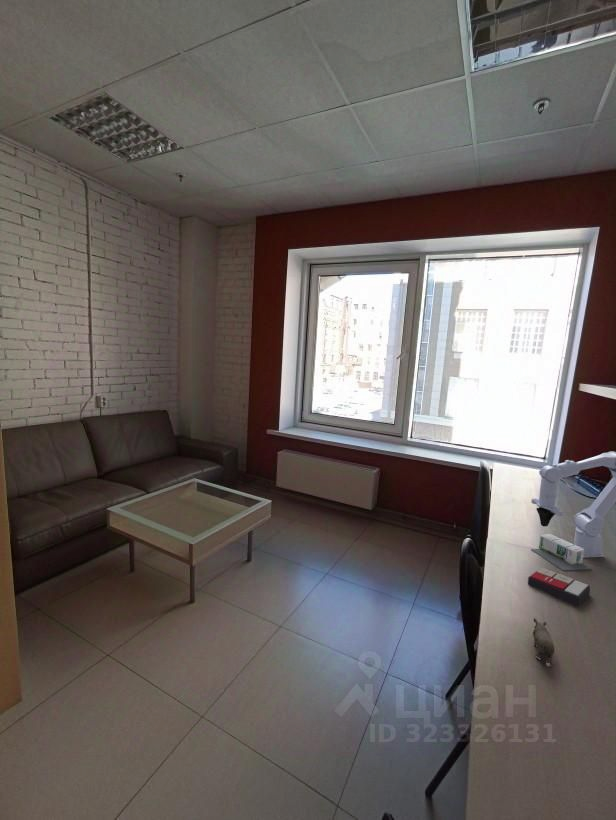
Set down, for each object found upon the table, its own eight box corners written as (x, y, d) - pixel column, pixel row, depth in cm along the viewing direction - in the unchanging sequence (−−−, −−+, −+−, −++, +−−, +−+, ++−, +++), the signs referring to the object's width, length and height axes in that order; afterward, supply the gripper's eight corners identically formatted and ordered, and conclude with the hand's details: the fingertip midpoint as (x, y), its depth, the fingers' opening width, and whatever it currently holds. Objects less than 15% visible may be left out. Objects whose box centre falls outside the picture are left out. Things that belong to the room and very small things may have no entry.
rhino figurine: (545, 633, 103) (547, 614, 102) (554, 669, 90) (557, 647, 90) (528, 629, 104) (530, 609, 104) (535, 663, 92) (538, 641, 91)
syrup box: (539, 534, 153) (575, 551, 139) (549, 533, 155) (585, 549, 141) (538, 547, 154) (573, 565, 140) (547, 545, 156) (583, 563, 142)
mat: (556, 548, 154) (556, 548, 154) (590, 569, 138) (591, 568, 138) (531, 549, 152) (531, 549, 152) (563, 570, 137) (563, 569, 137)
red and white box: (540, 565, 133) (590, 583, 121) (540, 577, 134) (589, 596, 122) (527, 575, 127) (579, 595, 115) (527, 587, 127) (578, 608, 115)
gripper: (526, 489, 158) (523, 518, 160) (553, 501, 144) (549, 533, 146) (541, 488, 159) (537, 518, 161) (568, 500, 145) (565, 533, 147)
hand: (544, 525), depth 153 cm, fingers closed
